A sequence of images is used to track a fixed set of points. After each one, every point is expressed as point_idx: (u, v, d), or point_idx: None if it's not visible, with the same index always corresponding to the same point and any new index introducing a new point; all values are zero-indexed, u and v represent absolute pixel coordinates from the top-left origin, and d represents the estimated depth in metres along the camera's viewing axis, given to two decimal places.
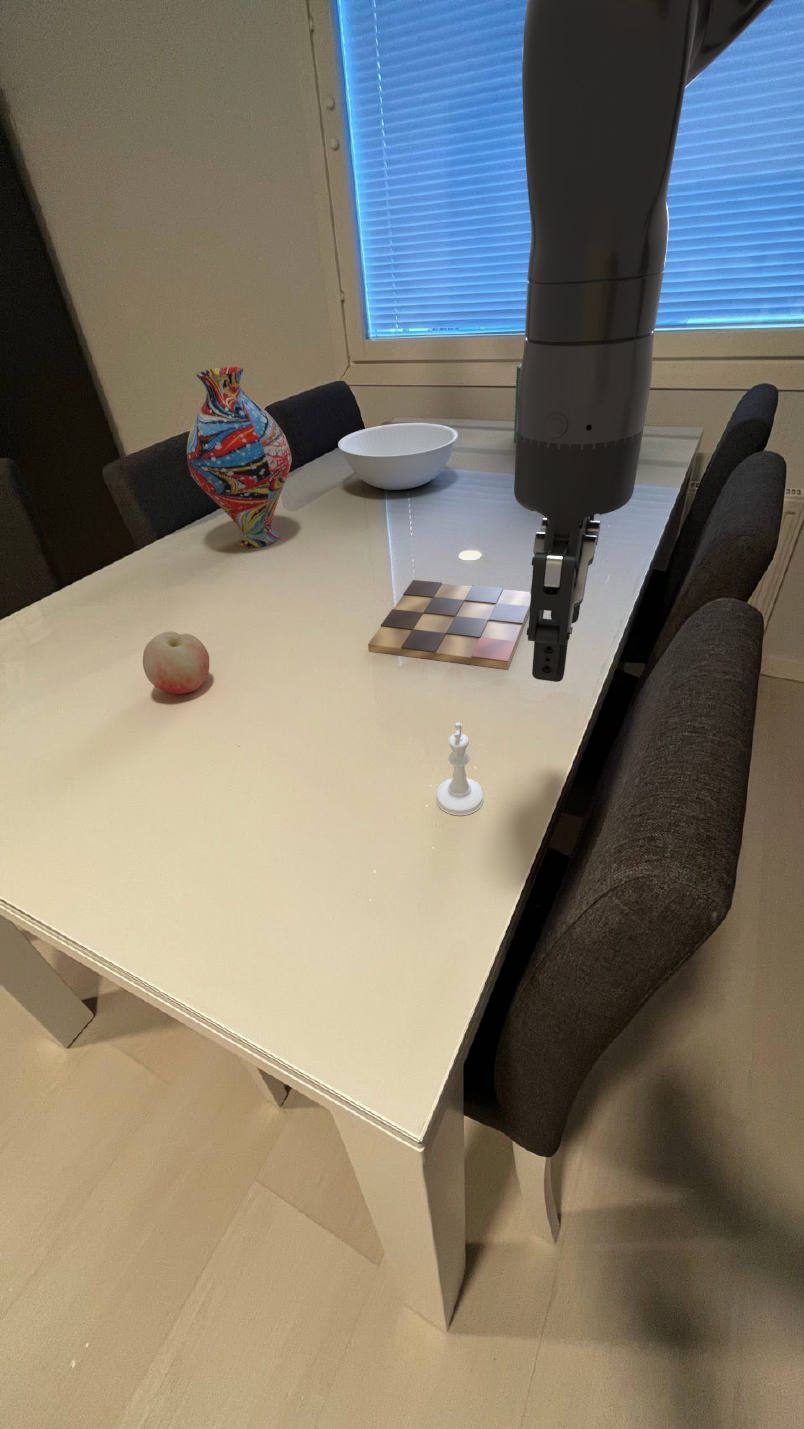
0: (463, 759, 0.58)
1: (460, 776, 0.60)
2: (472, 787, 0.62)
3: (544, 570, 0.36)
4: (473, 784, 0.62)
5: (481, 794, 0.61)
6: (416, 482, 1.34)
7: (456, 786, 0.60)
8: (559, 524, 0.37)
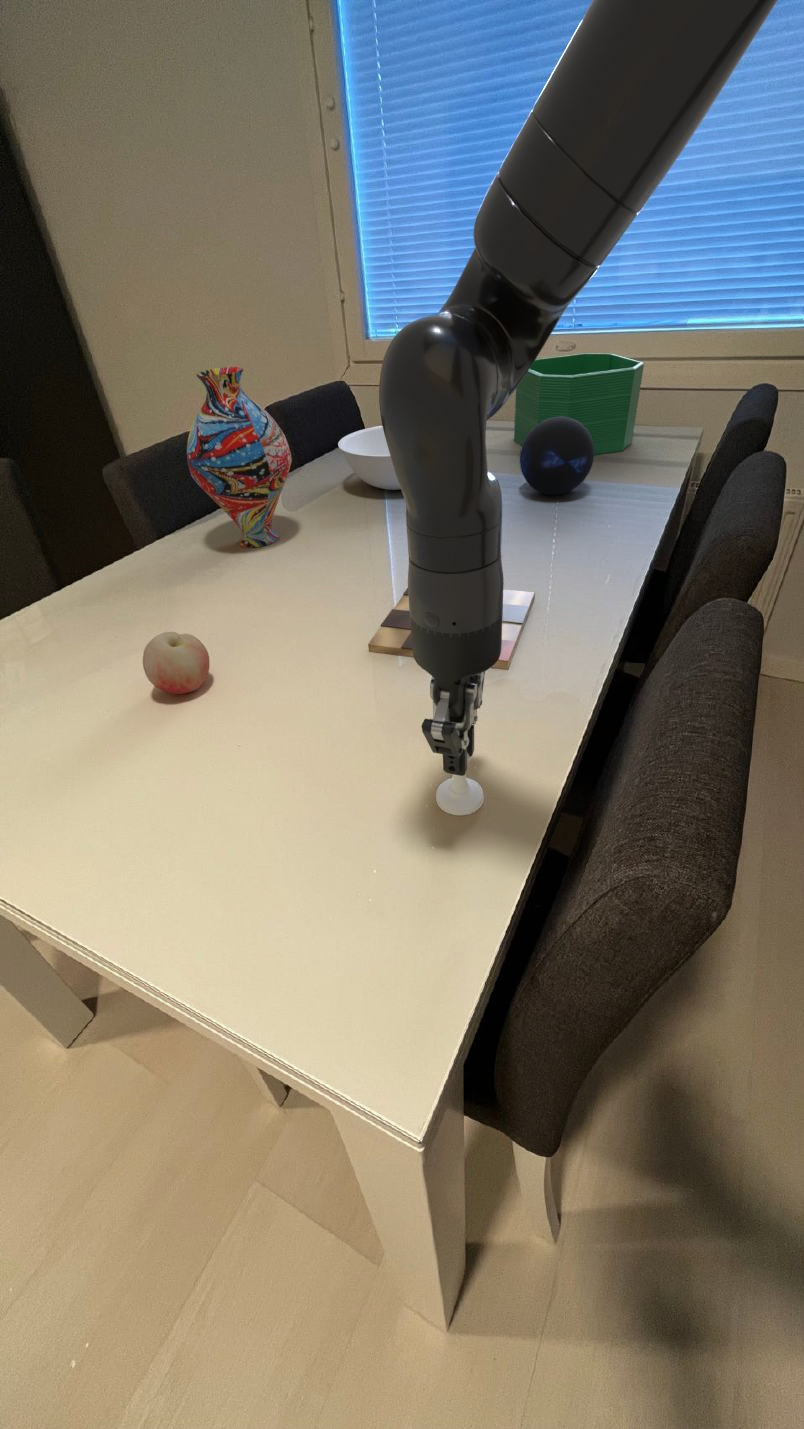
0: None
1: (460, 776, 0.60)
2: (472, 787, 0.62)
3: (431, 734, 0.50)
4: (473, 784, 0.62)
5: (481, 794, 0.61)
6: None
7: (456, 786, 0.60)
8: (442, 682, 0.49)
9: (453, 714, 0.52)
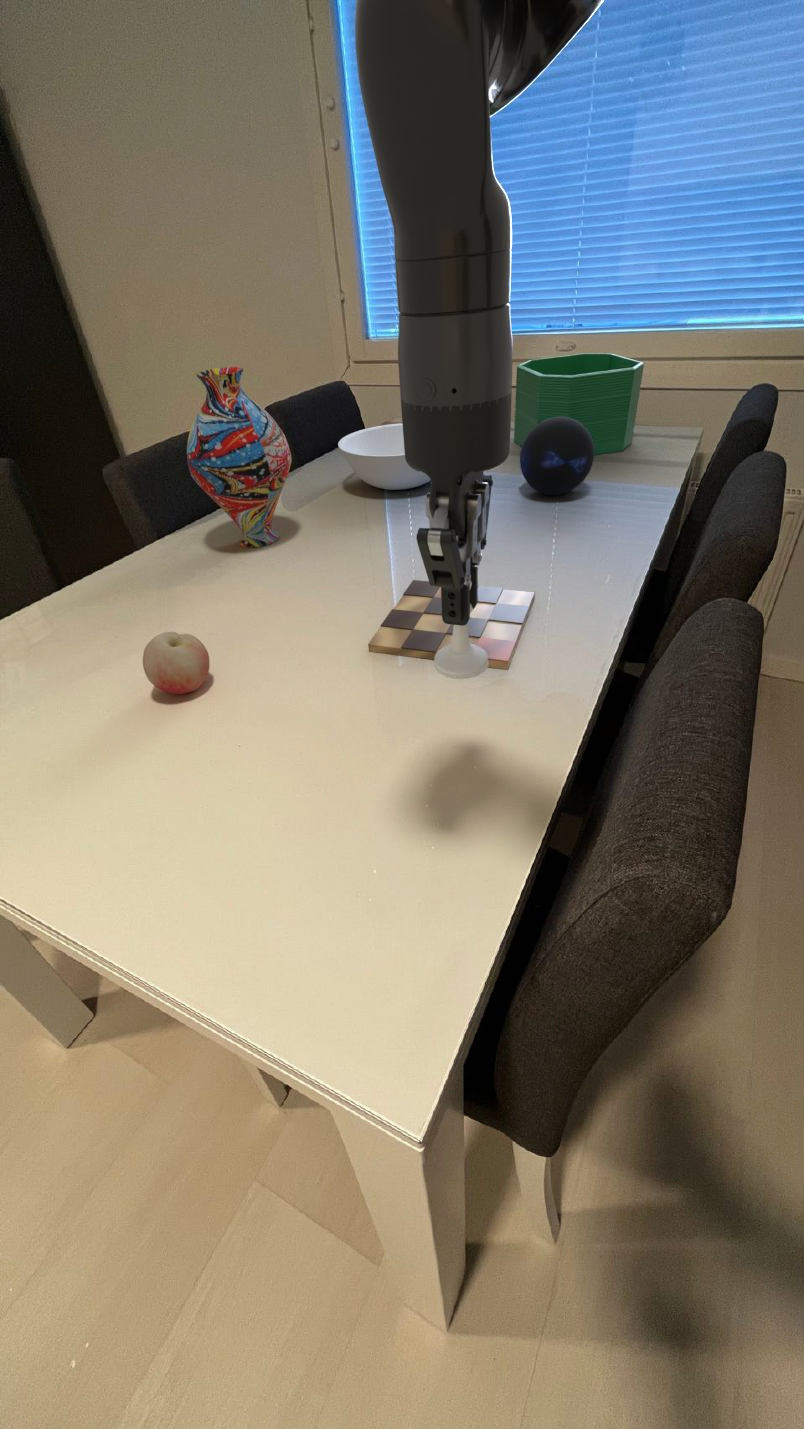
0: None
1: (461, 631, 0.52)
2: (475, 650, 0.54)
3: (427, 546, 0.42)
4: (476, 648, 0.54)
5: (486, 657, 0.54)
6: (416, 482, 1.34)
7: (457, 645, 0.52)
8: (440, 482, 0.41)
9: None
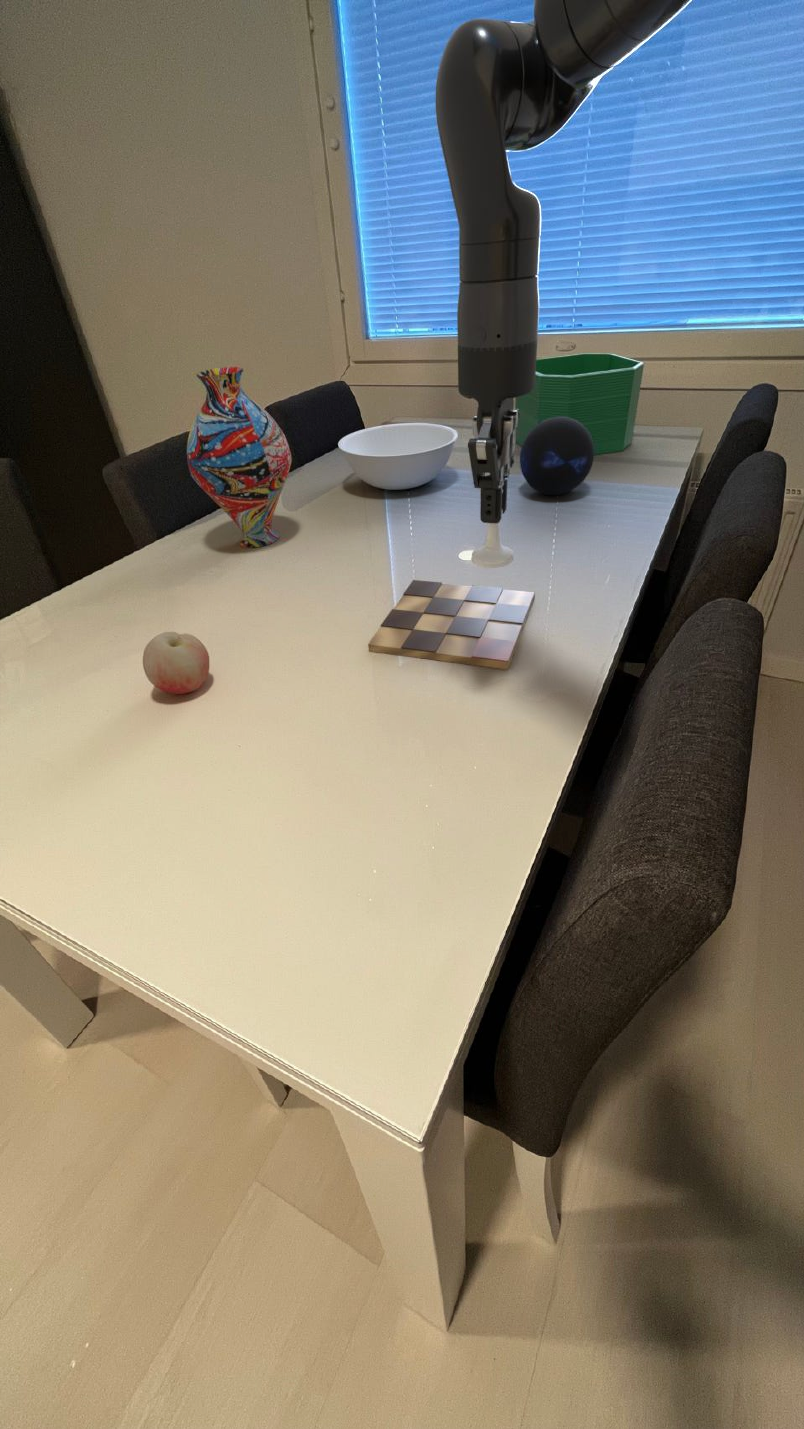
0: None
1: (493, 530, 0.68)
2: (503, 548, 0.70)
3: (475, 452, 0.58)
4: (504, 547, 0.71)
5: (511, 552, 0.70)
6: (416, 482, 1.34)
7: (490, 541, 0.69)
8: (485, 405, 0.57)
9: None
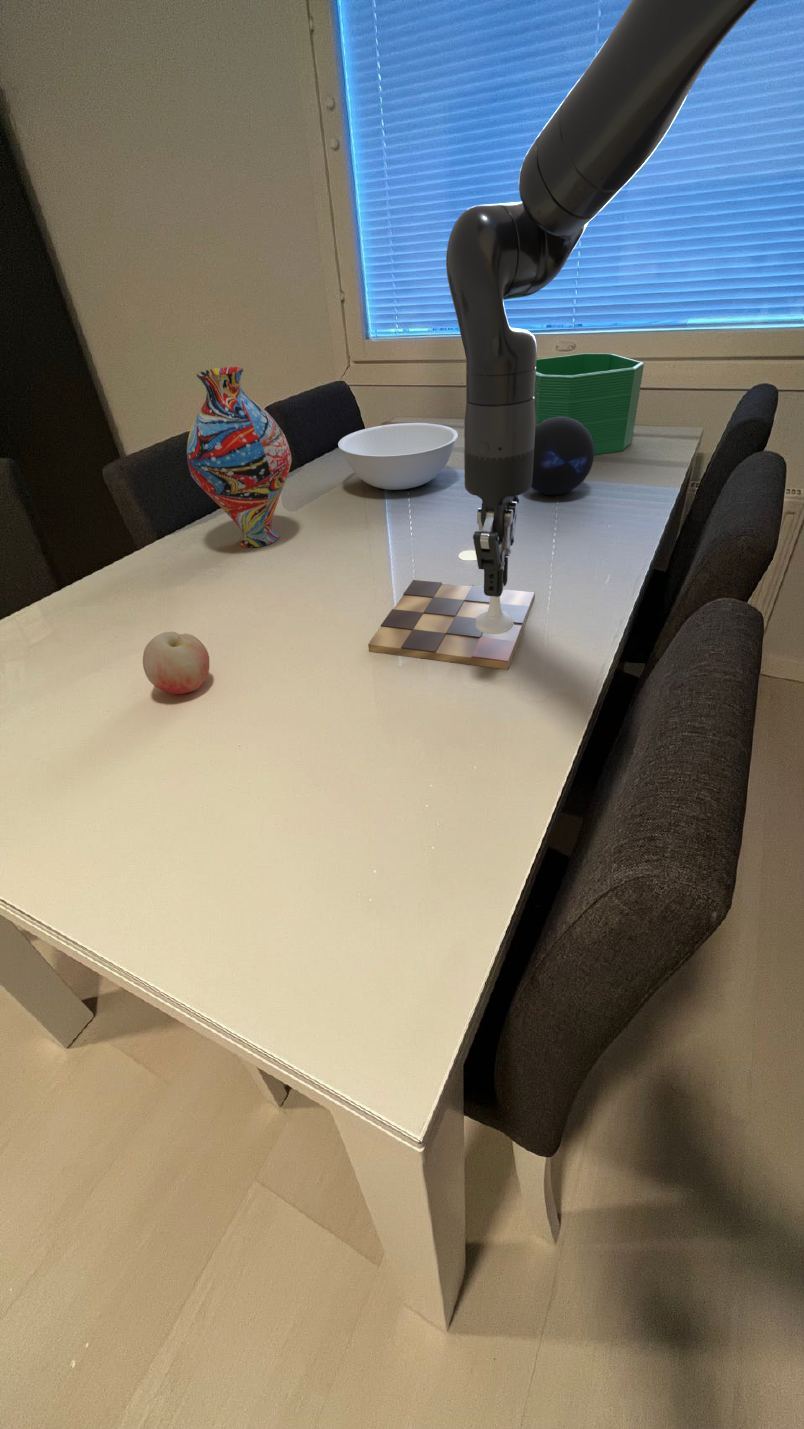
0: None
1: (495, 601, 0.76)
2: (504, 615, 0.78)
3: (480, 543, 0.66)
4: (505, 613, 0.79)
5: (511, 619, 0.78)
6: (416, 482, 1.34)
7: (492, 610, 0.77)
8: (488, 502, 0.66)
9: None
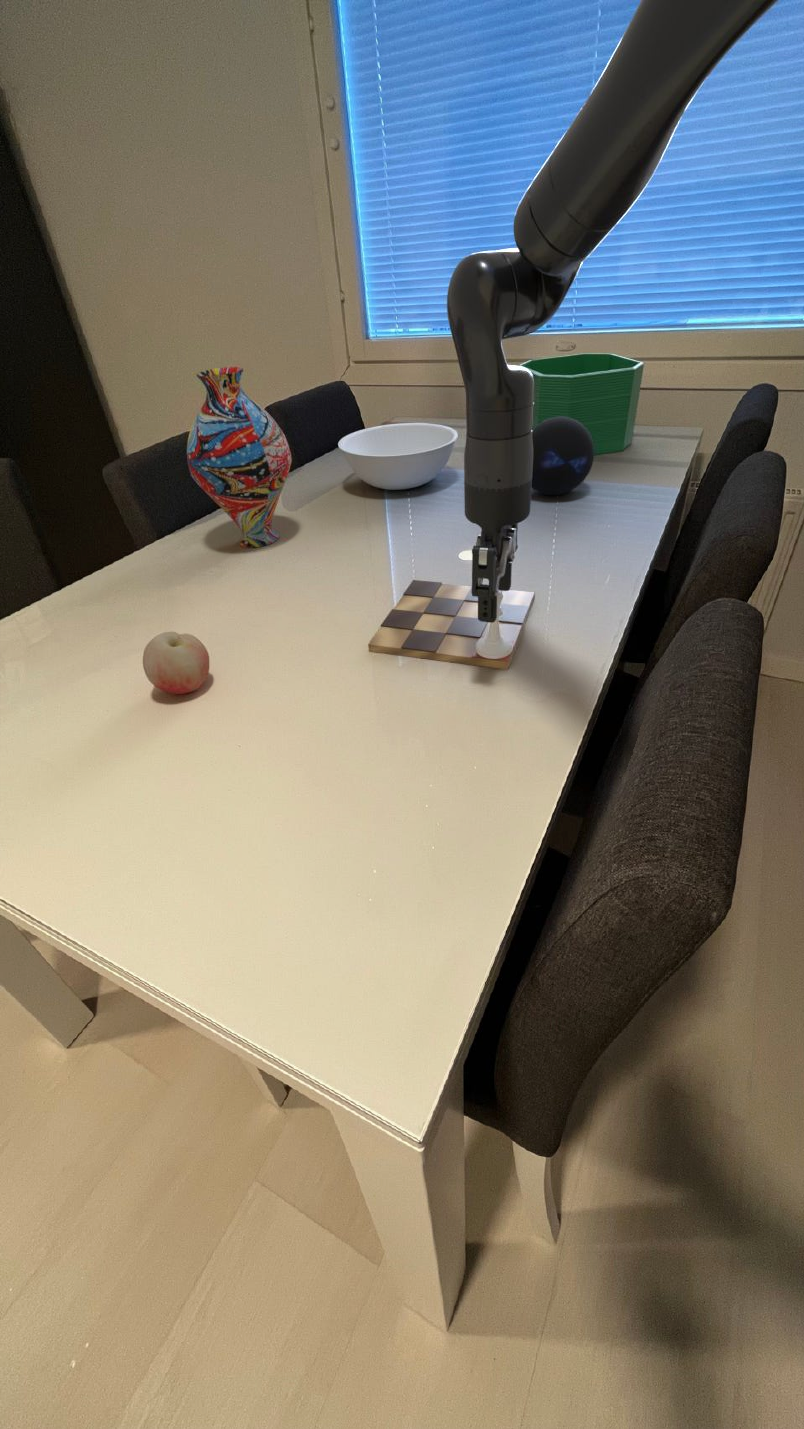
0: (498, 612, 0.77)
1: (495, 627, 0.78)
2: (503, 640, 0.81)
3: (478, 555, 0.66)
4: (504, 638, 0.81)
5: (510, 644, 0.80)
6: (416, 482, 1.34)
7: (492, 636, 0.79)
8: (487, 531, 0.68)
9: None
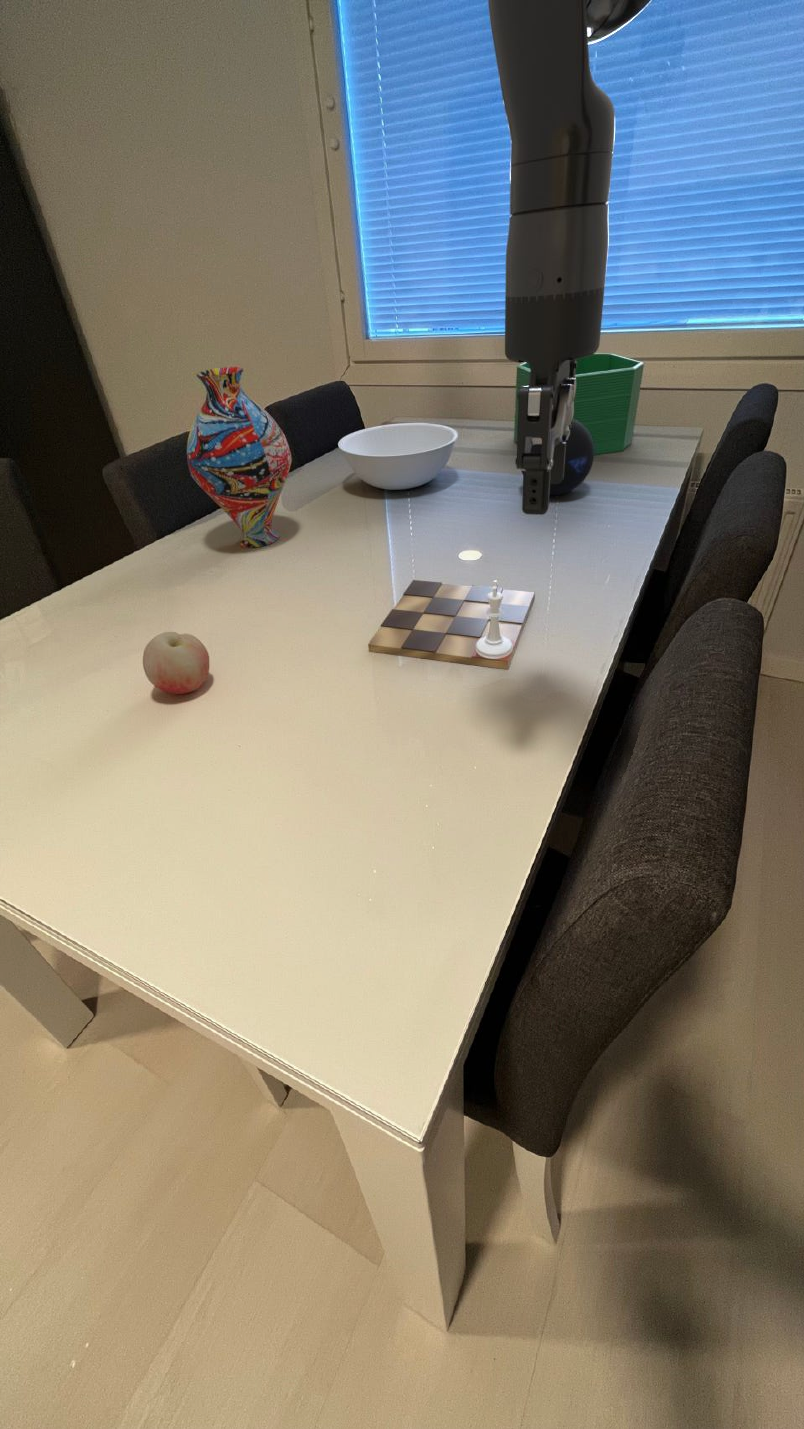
0: (498, 612, 0.77)
1: (495, 627, 0.78)
2: (503, 640, 0.81)
3: (527, 400, 0.46)
4: (504, 638, 0.81)
5: (510, 644, 0.80)
6: (416, 482, 1.34)
7: (492, 636, 0.79)
8: (539, 368, 0.47)
9: None
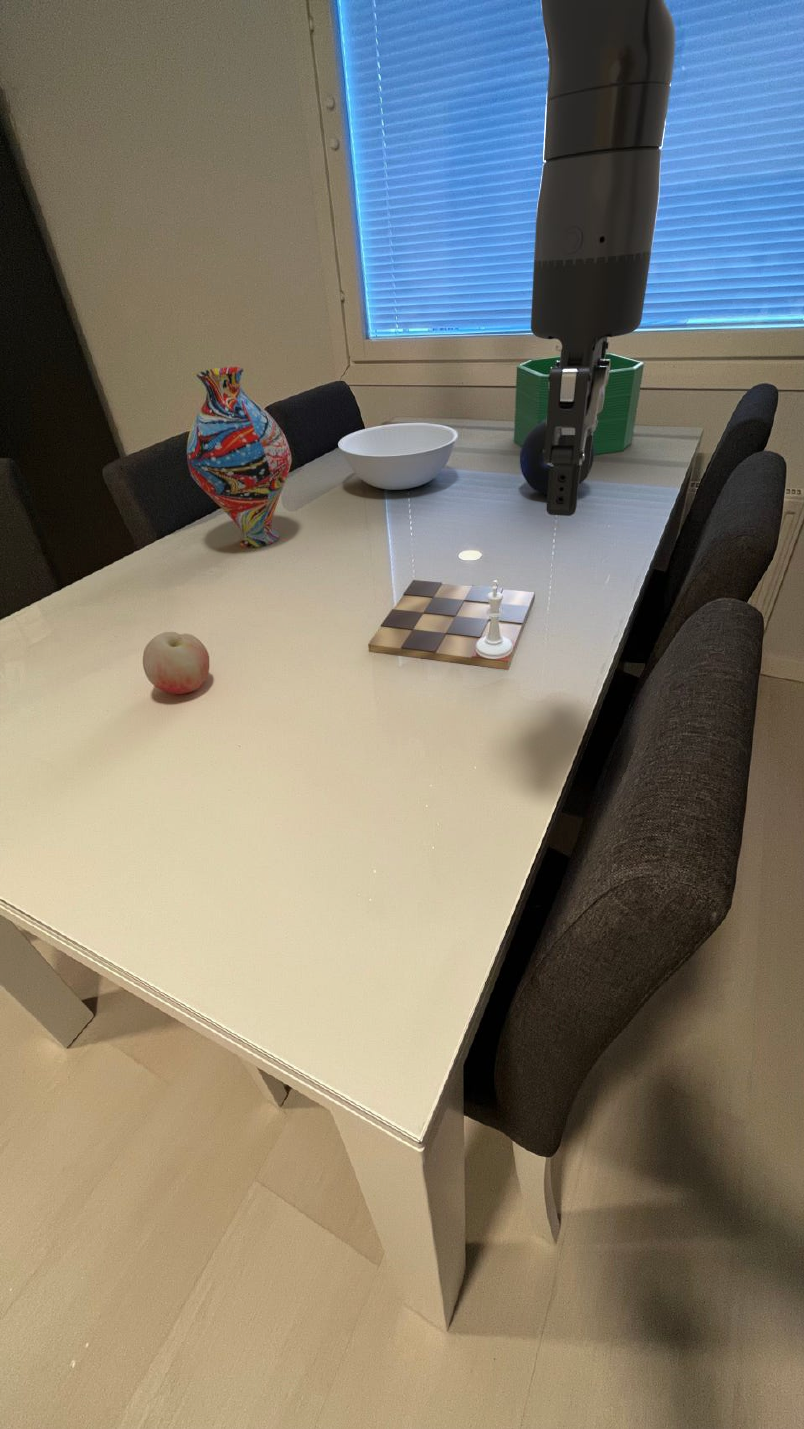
0: (498, 612, 0.77)
1: (495, 627, 0.78)
2: (503, 640, 0.81)
3: (560, 383, 0.39)
4: (504, 638, 0.81)
5: (510, 644, 0.80)
6: (416, 482, 1.34)
7: (492, 636, 0.79)
8: (573, 346, 0.40)
9: None
